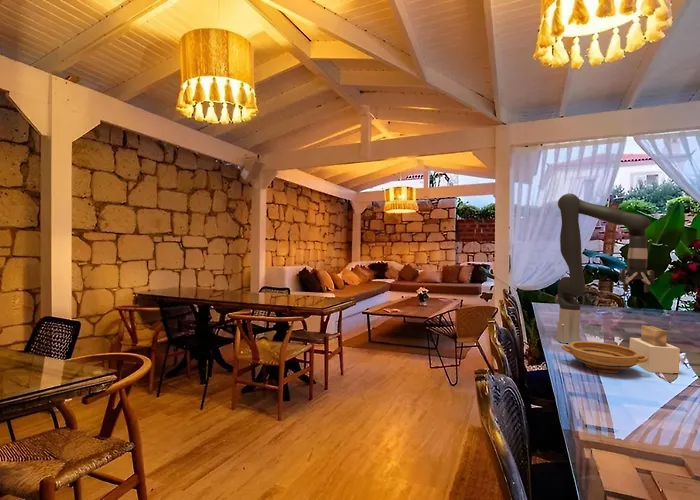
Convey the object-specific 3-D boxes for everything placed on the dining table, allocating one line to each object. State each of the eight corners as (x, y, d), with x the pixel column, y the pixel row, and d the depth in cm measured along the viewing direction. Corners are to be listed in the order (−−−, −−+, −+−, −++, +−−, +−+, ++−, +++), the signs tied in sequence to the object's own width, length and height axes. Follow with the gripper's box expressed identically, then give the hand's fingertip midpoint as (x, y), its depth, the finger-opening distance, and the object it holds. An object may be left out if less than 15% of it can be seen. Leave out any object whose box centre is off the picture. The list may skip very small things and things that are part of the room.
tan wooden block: (654, 352, 158) (655, 330, 158) (640, 346, 168) (641, 325, 168) (665, 353, 157) (666, 331, 157) (651, 347, 167) (652, 326, 167)
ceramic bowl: (643, 366, 162) (644, 347, 162) (652, 384, 142) (653, 362, 141) (562, 354, 178) (562, 337, 177) (559, 369, 157) (559, 349, 156)
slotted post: (648, 371, 156) (649, 346, 156) (628, 360, 171) (629, 337, 171) (678, 373, 154) (679, 348, 154) (655, 362, 169) (656, 339, 169)
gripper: (625, 257, 185) (623, 292, 185) (658, 258, 182) (657, 293, 183) (617, 257, 192) (615, 290, 193) (649, 258, 190) (648, 291, 190)
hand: (636, 291), depth 188 cm, fingers open, 8 cm apart
